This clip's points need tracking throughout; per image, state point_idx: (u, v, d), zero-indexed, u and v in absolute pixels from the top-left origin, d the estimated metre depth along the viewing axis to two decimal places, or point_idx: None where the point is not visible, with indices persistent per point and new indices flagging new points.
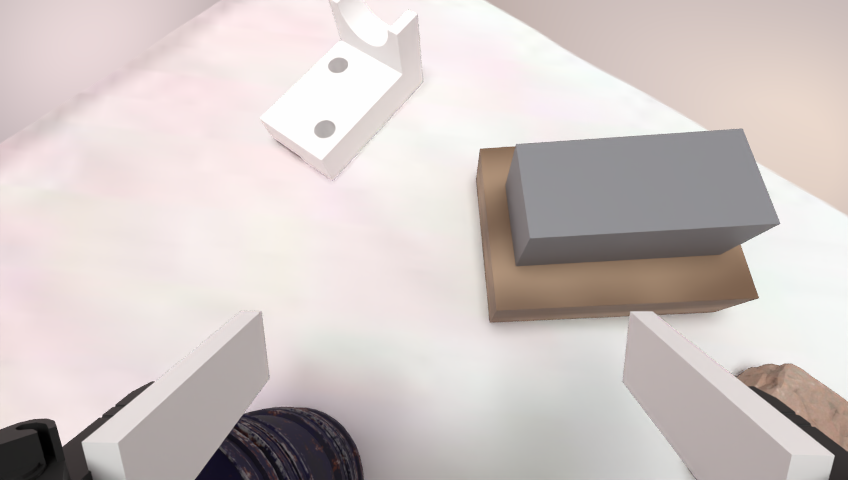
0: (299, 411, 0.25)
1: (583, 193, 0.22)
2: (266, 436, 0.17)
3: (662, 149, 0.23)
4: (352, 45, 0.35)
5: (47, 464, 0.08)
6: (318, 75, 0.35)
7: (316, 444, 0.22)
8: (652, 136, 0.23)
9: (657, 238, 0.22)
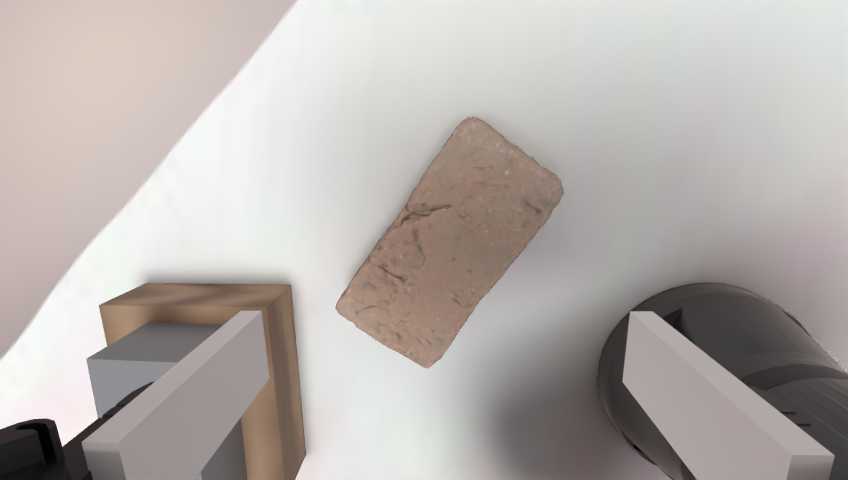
0: None
1: None
2: None
3: None
4: None
5: (47, 464, 0.08)
6: None
7: None
8: None
9: None
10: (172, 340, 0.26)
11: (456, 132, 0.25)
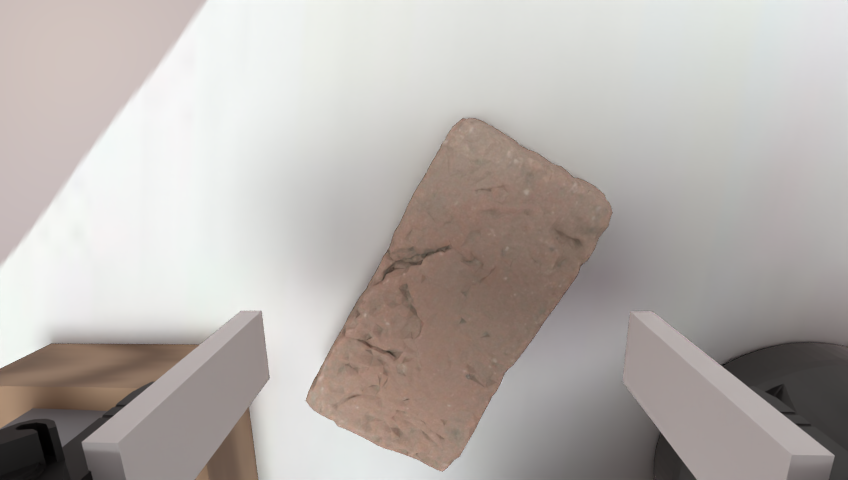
0: None
1: None
2: None
3: None
4: None
5: (47, 464, 0.08)
6: None
7: None
8: None
9: None
10: None
11: (447, 142, 0.17)
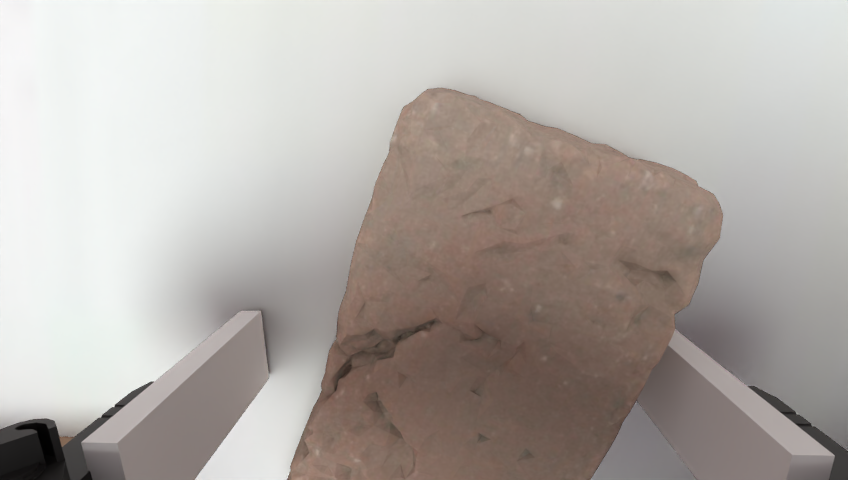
0: None
1: None
2: None
3: None
4: None
5: (47, 464, 0.08)
6: None
7: None
8: None
9: None
10: None
11: (396, 138, 0.09)
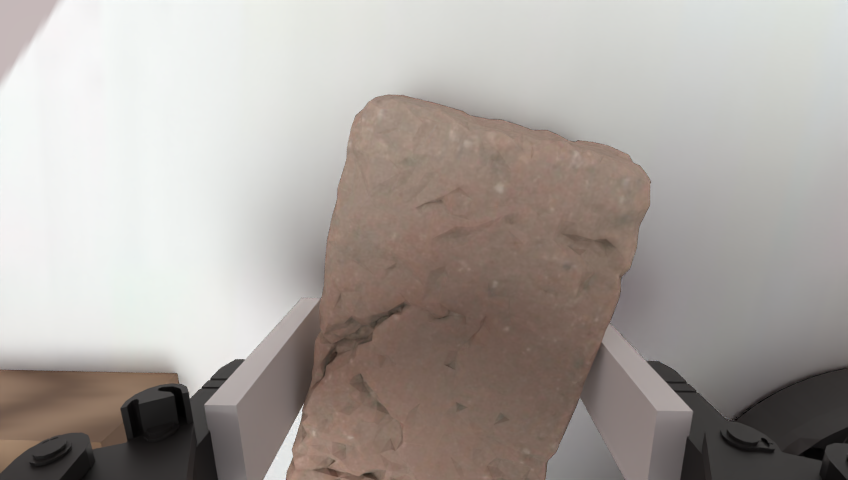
0: None
1: None
2: None
3: None
4: None
5: (179, 424, 0.09)
6: None
7: None
8: None
9: None
10: None
11: (351, 144, 0.11)
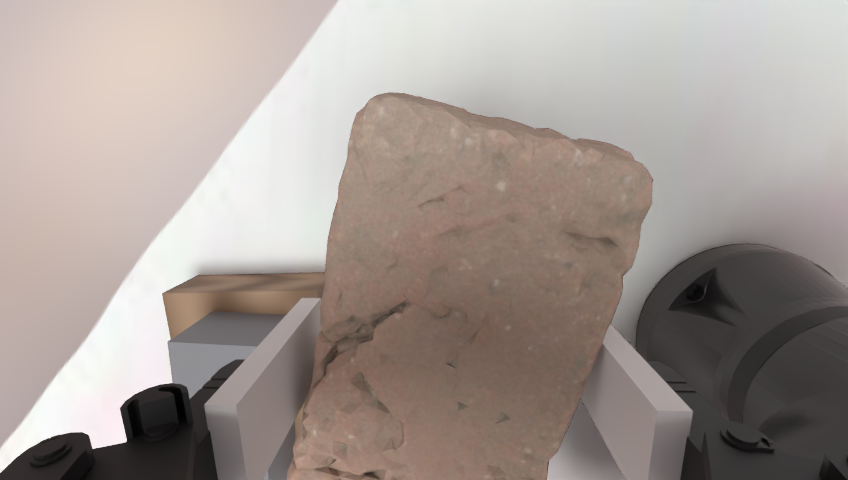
0: None
1: None
2: None
3: None
4: None
5: (179, 424, 0.09)
6: None
7: None
8: None
9: None
10: (240, 327, 0.28)
11: (352, 142, 0.11)
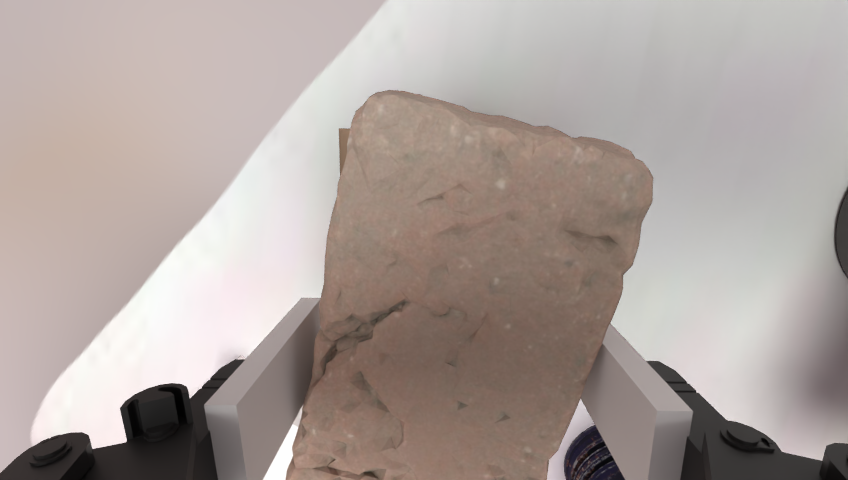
0: None
1: None
2: None
3: None
4: None
5: (179, 424, 0.09)
6: None
7: None
8: None
9: None
10: None
11: (351, 140, 0.10)
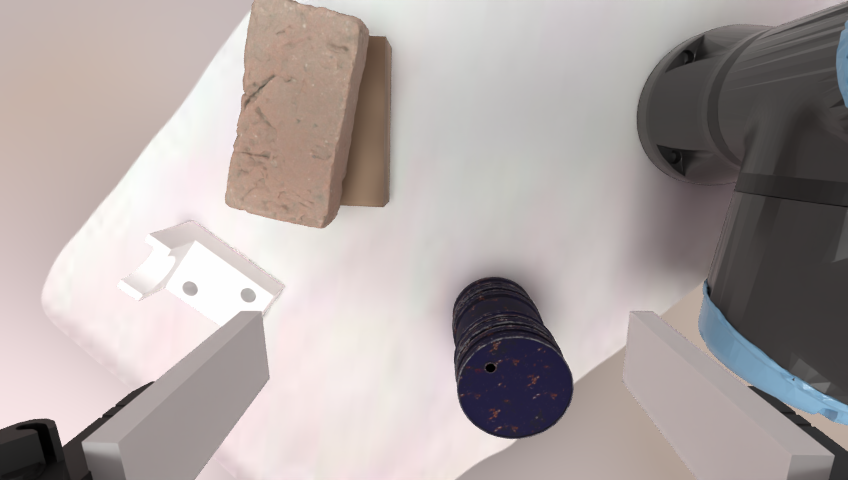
0: (455, 316, 0.44)
1: None
2: (466, 338, 0.36)
3: None
4: (170, 278, 0.45)
5: (47, 464, 0.08)
6: (201, 302, 0.46)
7: (471, 309, 0.41)
8: None
9: None
10: None
11: (251, 10, 0.29)
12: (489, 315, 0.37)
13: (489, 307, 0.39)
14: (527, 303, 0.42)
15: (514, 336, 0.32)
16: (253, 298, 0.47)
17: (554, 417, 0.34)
